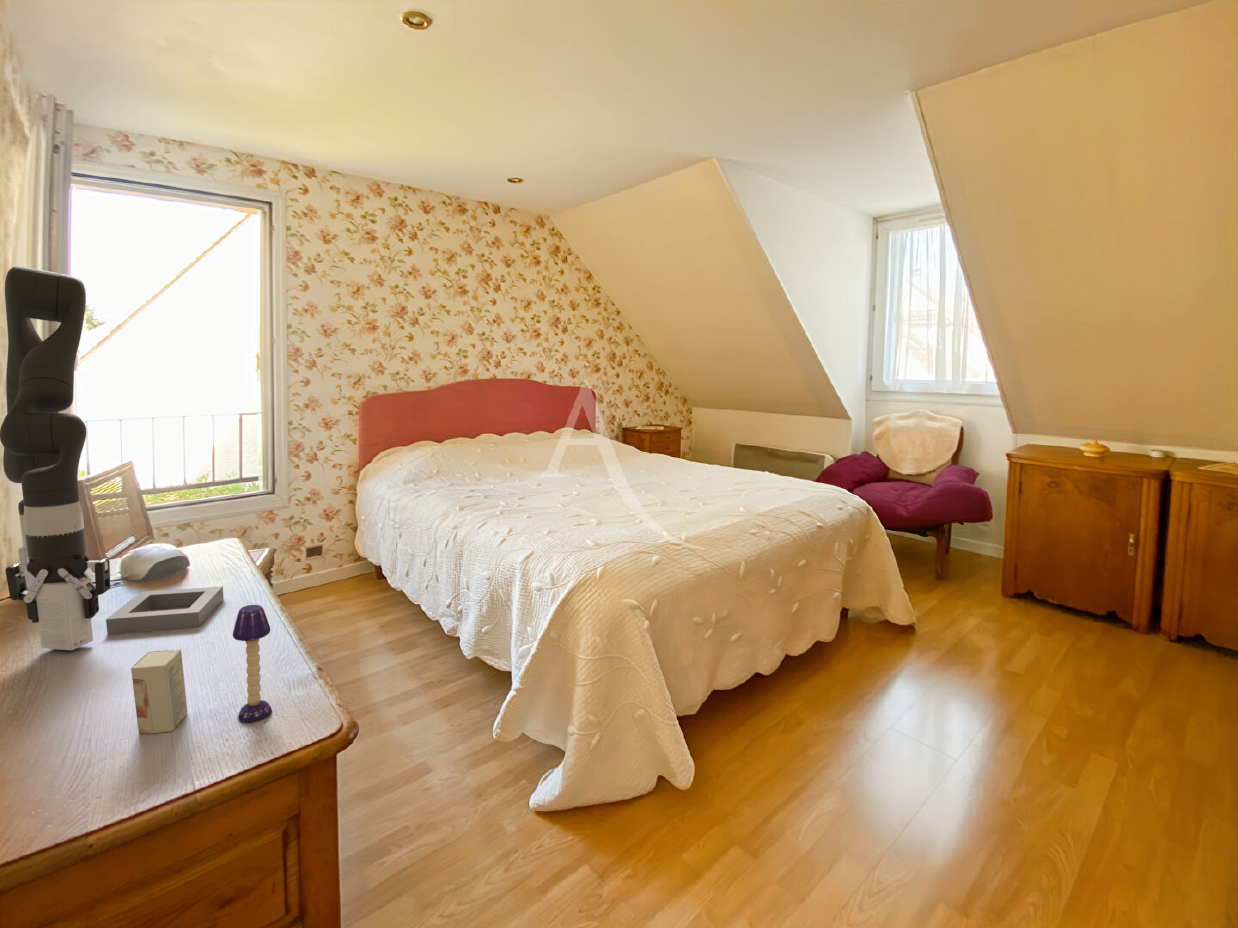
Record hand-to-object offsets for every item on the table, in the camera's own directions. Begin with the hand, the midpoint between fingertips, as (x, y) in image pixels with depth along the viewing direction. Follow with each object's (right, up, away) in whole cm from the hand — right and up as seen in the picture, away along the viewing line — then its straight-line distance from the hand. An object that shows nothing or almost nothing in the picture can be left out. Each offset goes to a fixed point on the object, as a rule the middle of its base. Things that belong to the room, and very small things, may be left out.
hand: (64, 618), depth 108 cm
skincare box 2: (+33, -10, -21) cm, 40 cm away
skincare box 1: (0, -5, +1) cm, 5 cm away
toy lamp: (+45, -10, -18) cm, 49 cm away
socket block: (+7, -4, +16) cm, 18 cm away
